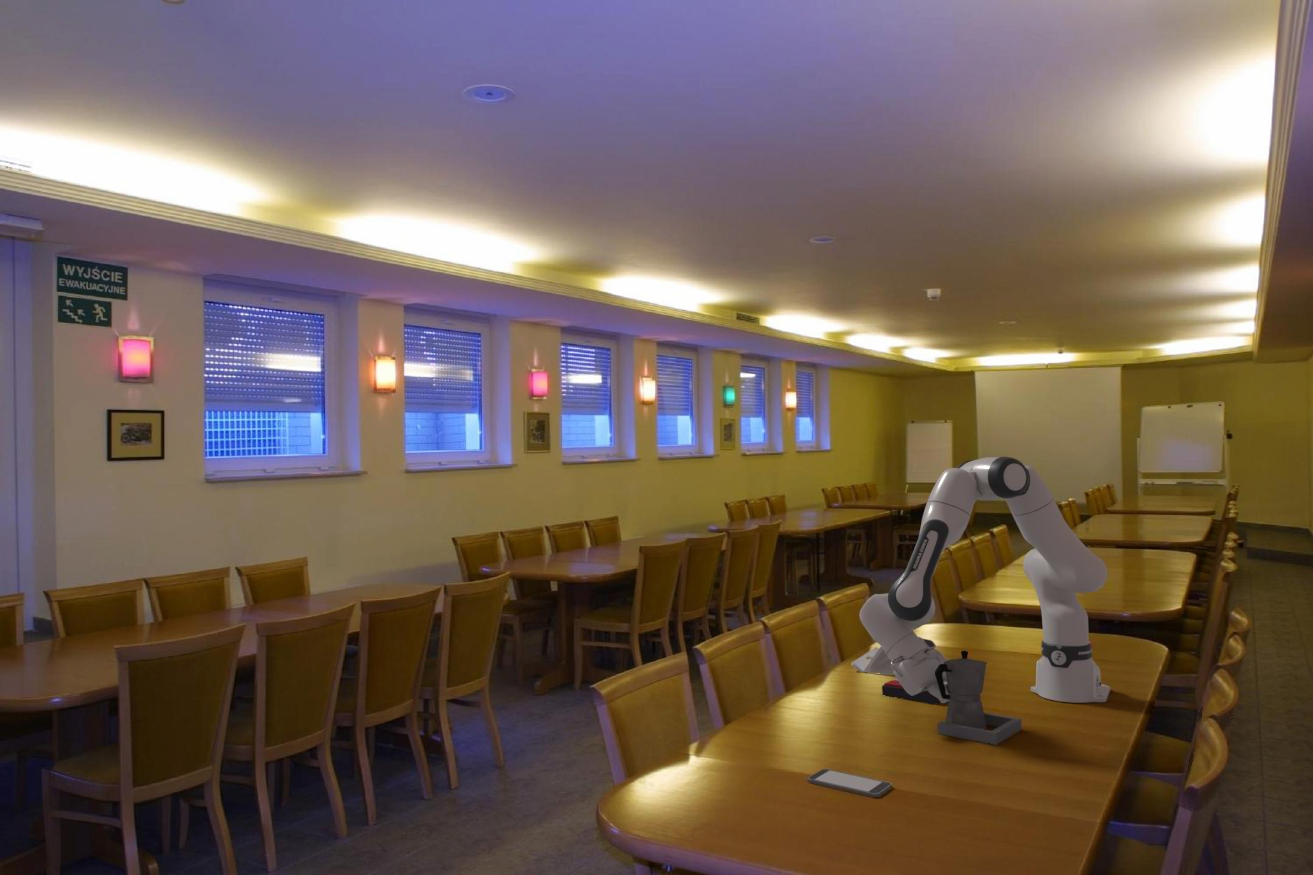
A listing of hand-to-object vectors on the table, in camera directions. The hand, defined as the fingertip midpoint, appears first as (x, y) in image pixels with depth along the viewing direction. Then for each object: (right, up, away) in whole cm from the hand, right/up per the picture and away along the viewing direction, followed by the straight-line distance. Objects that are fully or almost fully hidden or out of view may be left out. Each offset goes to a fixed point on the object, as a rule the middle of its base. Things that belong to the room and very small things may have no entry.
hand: (947, 700), depth 214 cm
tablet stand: (+3, -8, +63) cm, 63 cm away
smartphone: (-31, -6, -38) cm, 49 cm away
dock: (+6, -6, -5) cm, 10 cm away
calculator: (+1, -7, +27) cm, 28 cm away
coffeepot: (+3, -6, -3) cm, 7 cm away
